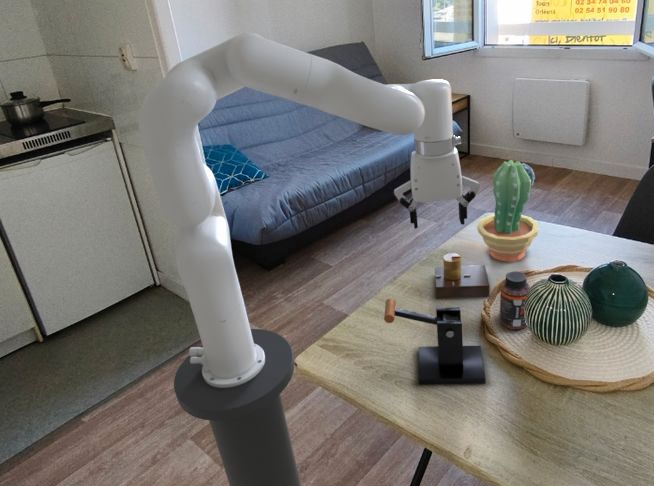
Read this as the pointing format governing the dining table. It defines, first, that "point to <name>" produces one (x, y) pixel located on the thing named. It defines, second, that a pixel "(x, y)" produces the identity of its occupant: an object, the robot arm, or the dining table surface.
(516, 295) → the supplement bottle
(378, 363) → the dining table surface
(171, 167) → the robot arm
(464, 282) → the dial panel
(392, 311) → the lever handle
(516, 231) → the potted cactus
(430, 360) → the bracket
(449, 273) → the knob
